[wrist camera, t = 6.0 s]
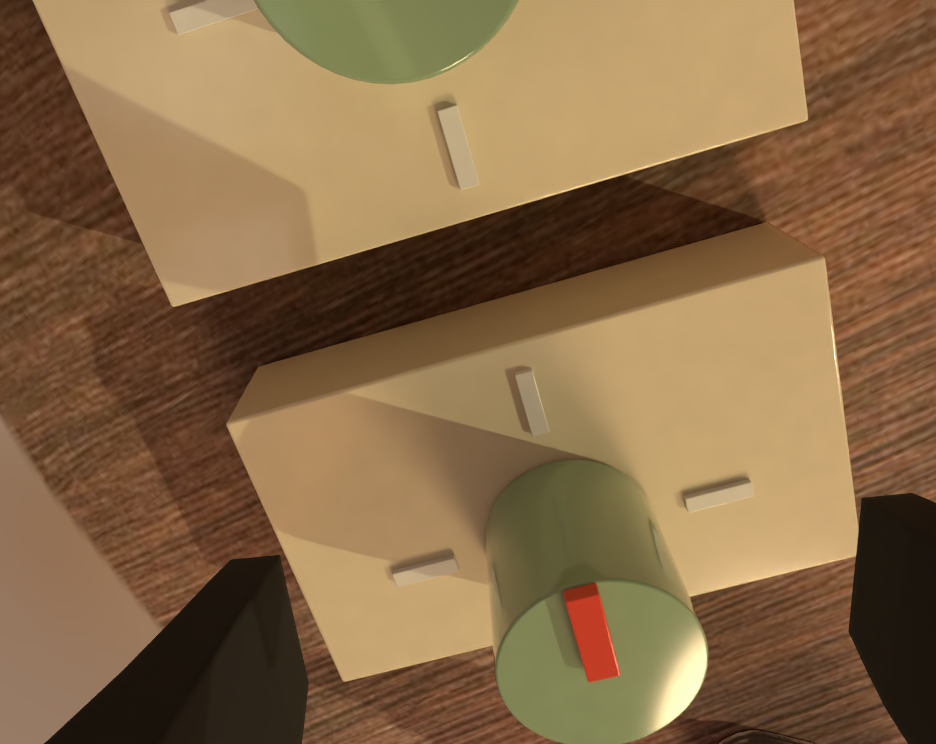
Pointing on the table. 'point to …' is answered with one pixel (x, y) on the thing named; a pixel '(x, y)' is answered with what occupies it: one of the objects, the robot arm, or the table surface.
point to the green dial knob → (387, 34)
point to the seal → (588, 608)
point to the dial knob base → (557, 437)
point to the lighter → (760, 738)
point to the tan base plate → (399, 121)
